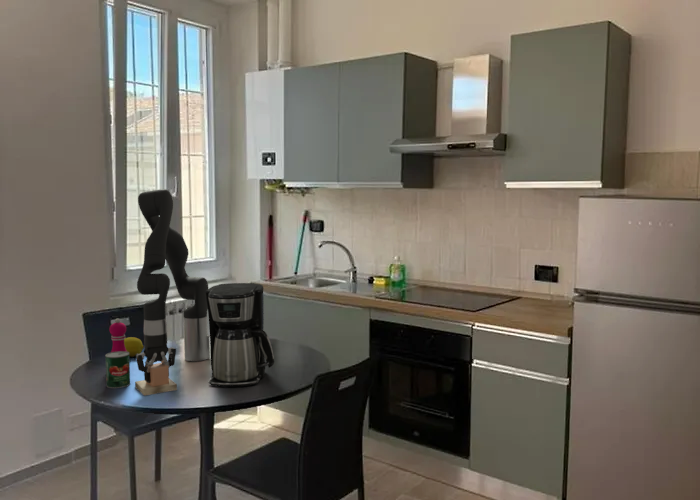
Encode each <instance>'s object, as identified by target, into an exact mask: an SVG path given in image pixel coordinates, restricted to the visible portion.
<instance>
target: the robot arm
mask: <svg viewBox="0 0 700 500" xmlns="http://www.w3.org/2000/svg"><path fill="white" fill-rule="evenodd" d="M173 199H174V198H173V196H172V194H171V192H170V191H169V190H168V189H167V188H162V189H161V188H160V189H153V190H147V191H142V192H141V193H139V195H138V196H137V203H138V207H139V210H140V212H141V214H142V216H143V218H144V220H145V221H146V222H147V224H148V226H149V228H150V229H151V233H150V235H148V238H147V239H146V241H145V246H144V253H143V254H144V255H143V256H144V257H143V265H142V268H141V271H140V273H139V276H138V279H137V282H136V289H137V291H138V292H139V294H141V295H144V296H146V295H148V296H149V295H158V298H156V299H154V300H151V301H146V302H145V303H144V305H143V344H144V345H143V346H144V350H143V351H142V352H141V353H140V354H136V355H135V356H134V357H135V361H136V364H137V368H138V371H140V372H143V373H144V380H145V381H146V382H147V383H151V377H150V368H151V367H152V366H153V364H155V363H158V362H159V363H162V364H164V365H167V366H168V369H169V370H170V368H171V367H172V366H175V361H176V353H177V348H175V347H173V346H172V347H168V325H167V320H166V319H167V318H166V315H167V314H166V304H167V303H166V302H167V298H168V293H169V291H170V290H169V289H170V286H171V281H170V279H171V278H170V277H169V275H167V274H166V273H163V272H162V273H153V272H156V271H160V270H162V269H164V268H165V266H166V263H167V265H168V268H169V270H170V272H171V275H172V278H173V281H174V284H175V287H176V289H177V292H178V295H179V296H180V298H181V299H183V300H186V301H188V300H189V301H194V304H193V306H191V307H188V308H186V309H184V310H183V314H182V315H183V343H184V346H183V347H184V361H187V362H201V361H205V360H208V359H211V355H210V334H208V307H207V299H206V291H207V290H208V289H209V282H208V280H207V279H206V278H205V277H201V276H189V275H188V273H187V270H186V264H187V262H188V258H189V248H188V246H187V244H186V241H185V239H184V237H183V235H181V234H180V233H179V232H178V231H177V230H176V229H174V228H173V227H171V221H172V215H173V210H174V201H173ZM167 355H168V359H167V357H166V356H167ZM145 358H146V359H145ZM144 359H145V362H144Z"/></svg>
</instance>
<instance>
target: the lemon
mask: <svg viewBox="0 0 700 500" xmlns="http://www.w3.org/2000/svg"><path fill="white" fill-rule="evenodd" d="M124 345H125V348H126V350H127V352H129V358H130V357H131V358H133V357H136V356H135V355H136V354H141V353H143V351H144V350H143V349H145V347H144V345H143V342H142V340H141V339H140V338H137V337H134V336H133V337H132V336H130V337H129V336H128V337H125V339H124Z"/></svg>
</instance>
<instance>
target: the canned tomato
mask: <svg viewBox="0 0 700 500" xmlns="http://www.w3.org/2000/svg"><path fill="white" fill-rule="evenodd" d="M104 357H105V378H106V380H105V381H106V383H105V384H106V387H107V388H109V389H120V388H121V389H122V388H125V387H128V386H130V385H131V373H130V372H131V369H130V366H131V365H130V364H131V363H130V357H129V352H126V351H117V352H111V351H110V352H108V353H106V354H105V356H104Z"/></svg>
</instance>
